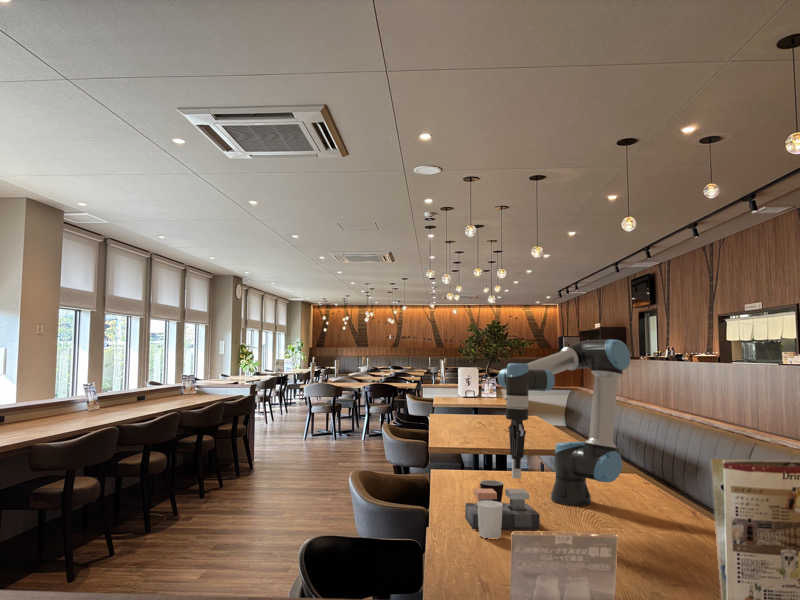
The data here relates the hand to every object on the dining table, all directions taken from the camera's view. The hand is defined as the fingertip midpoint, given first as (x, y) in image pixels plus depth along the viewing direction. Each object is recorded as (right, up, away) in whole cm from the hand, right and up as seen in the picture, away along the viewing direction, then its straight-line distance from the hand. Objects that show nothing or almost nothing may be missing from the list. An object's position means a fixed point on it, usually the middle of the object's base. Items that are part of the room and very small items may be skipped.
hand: (516, 477), depth 191 cm
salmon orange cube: (-11, -10, -2) cm, 15 cm away
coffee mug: (-6, -17, +16) cm, 24 cm away
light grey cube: (0, -10, -1) cm, 10 cm away
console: (-6, -15, -2) cm, 16 cm away
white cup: (-12, -14, -16) cm, 24 cm away
